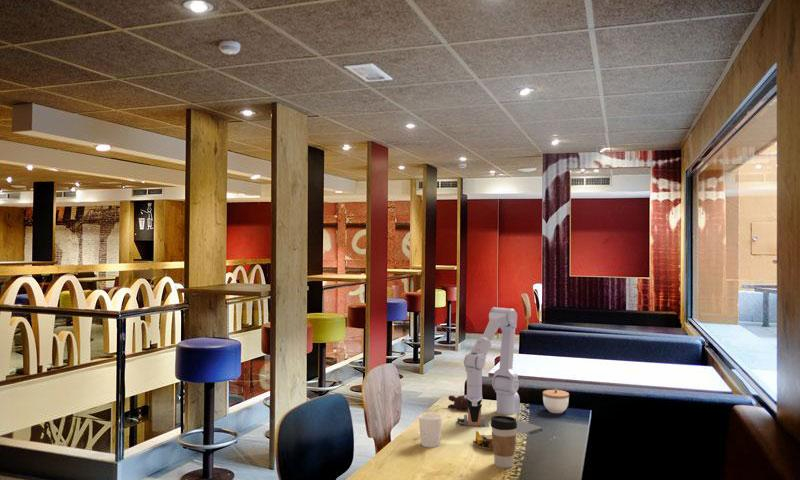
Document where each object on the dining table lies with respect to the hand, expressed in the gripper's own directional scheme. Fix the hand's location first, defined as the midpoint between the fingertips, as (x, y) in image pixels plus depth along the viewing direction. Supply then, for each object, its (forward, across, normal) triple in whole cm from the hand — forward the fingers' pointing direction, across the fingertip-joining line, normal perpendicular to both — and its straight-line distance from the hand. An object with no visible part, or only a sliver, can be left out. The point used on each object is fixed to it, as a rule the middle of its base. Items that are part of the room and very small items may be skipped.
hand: (474, 419), depth 233 cm
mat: (+2, +2, +18) cm, 18 cm away
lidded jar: (+3, -24, +34) cm, 42 cm away
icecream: (+3, -20, -5) cm, 21 cm away
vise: (+2, 0, 0) cm, 2 cm away
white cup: (+3, +23, -16) cm, 28 cm away
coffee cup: (+3, +39, +9) cm, 40 cm away
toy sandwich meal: (+3, +21, +6) cm, 22 cm away
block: (+1, 0, 0) cm, 1 cm away
